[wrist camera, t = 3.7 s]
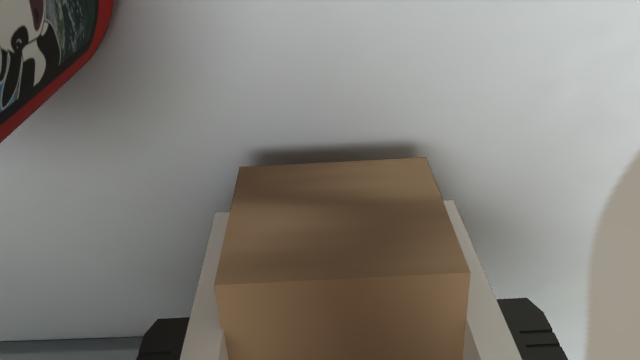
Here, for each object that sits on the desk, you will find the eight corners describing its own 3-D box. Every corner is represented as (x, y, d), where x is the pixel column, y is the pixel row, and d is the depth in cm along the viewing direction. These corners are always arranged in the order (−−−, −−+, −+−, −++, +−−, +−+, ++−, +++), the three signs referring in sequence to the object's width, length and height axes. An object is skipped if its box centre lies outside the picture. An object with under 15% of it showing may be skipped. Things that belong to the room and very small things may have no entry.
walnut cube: (258, 310, 18) (242, 453, 14) (239, 166, 16) (213, 285, 12) (420, 302, 18) (455, 443, 14) (426, 157, 16) (470, 272, 12)
